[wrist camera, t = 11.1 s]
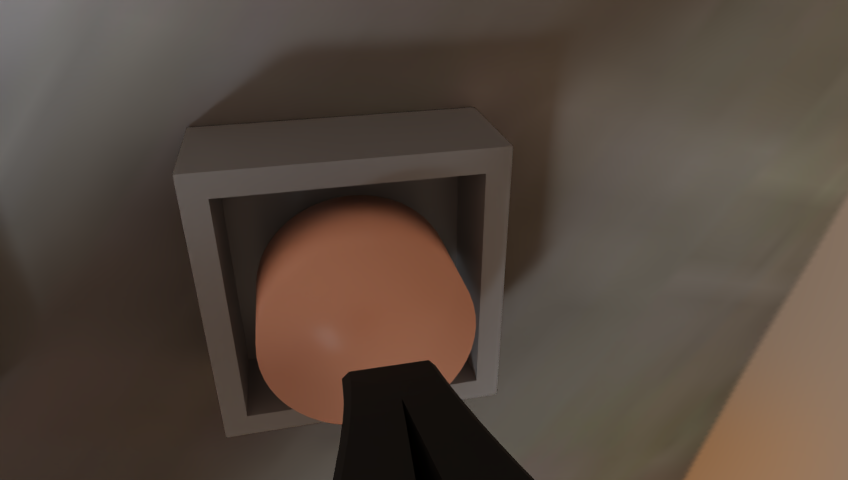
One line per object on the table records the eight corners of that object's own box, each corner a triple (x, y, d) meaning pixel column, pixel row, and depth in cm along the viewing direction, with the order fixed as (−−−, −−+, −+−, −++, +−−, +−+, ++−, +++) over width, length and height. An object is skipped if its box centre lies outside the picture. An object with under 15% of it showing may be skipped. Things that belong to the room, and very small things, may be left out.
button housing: (466, 330, 17) (496, 394, 15) (230, 363, 16) (226, 438, 14) (474, 107, 14) (513, 146, 12) (186, 127, 13) (171, 174, 11)
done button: (447, 346, 15) (472, 407, 13) (268, 373, 14) (269, 440, 12) (450, 186, 13) (479, 231, 11) (242, 205, 12) (240, 258, 10)
